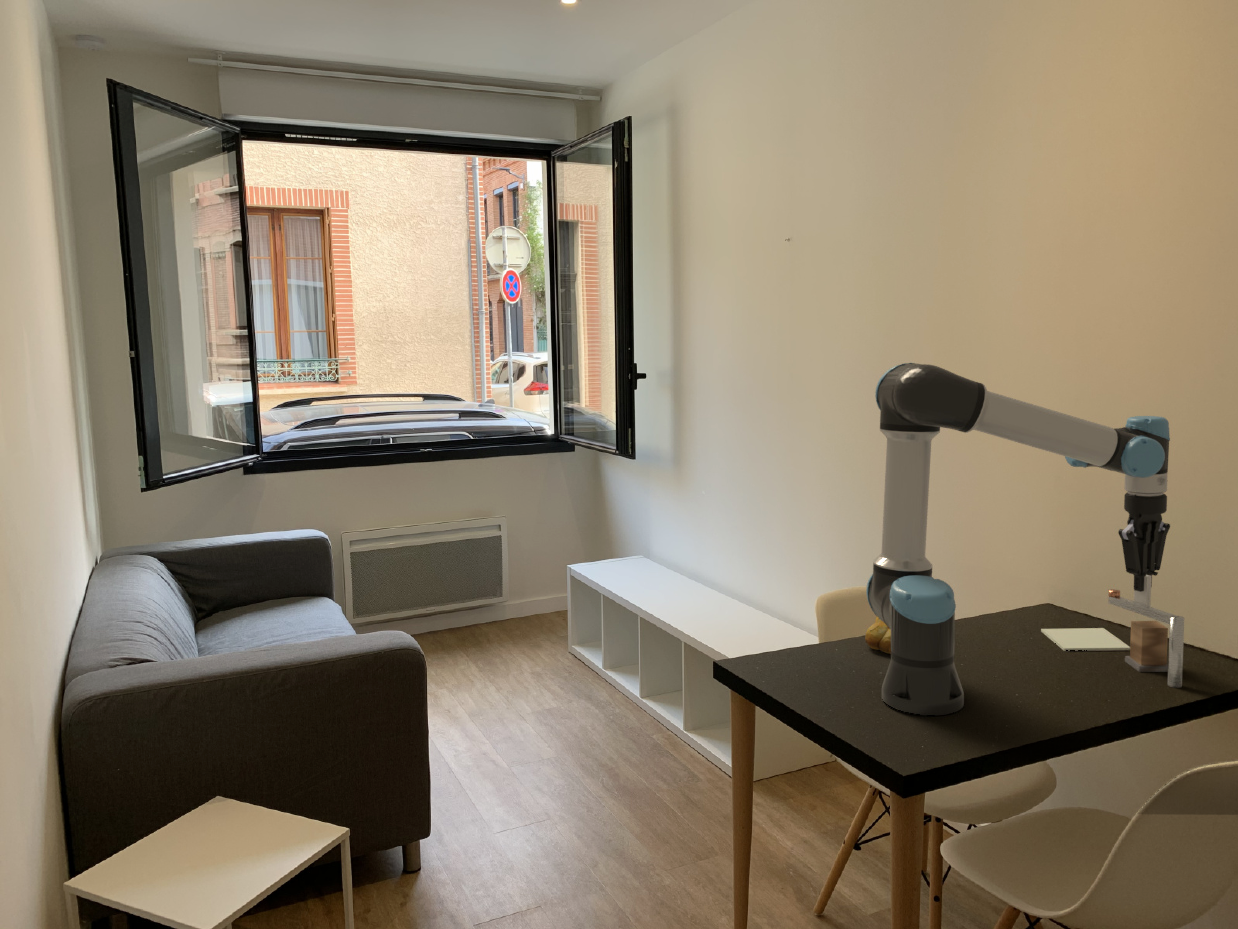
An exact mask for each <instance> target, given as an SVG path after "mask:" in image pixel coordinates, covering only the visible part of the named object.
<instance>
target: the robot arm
mask: <svg viewBox="0 0 1238 929" xmlns="http://www.w3.org/2000/svg"><path fill="white" fill-rule="evenodd" d="M874 393H875V395H874V396H875V402H876V405H877V407H878V409H879V410H880V412H879V414H880V417H879V431H880V432H881V433H882V434H883V435H884V437H885V438H886V450H885V451H886V453H885V455H886V457H885V473H884V474H885V475H884V495H883V512H882V513H883V516H882V536H881V553H880V554H879V555H878V556H877V557H876V558H875V559H873V565H872V574H871V575H870V577H869V579H868V582H867V584H866V587H865V588H866V591H865V592H866V599H867V602H868V604H869V607H870V609H871V611H872V612H873V613H874V614H875V616H877V617H878V618H879V619H880V620H882V621H883V622H884V623H885V624H886V625H887V626H888V627H889V628H890V630H891V654H890V661H889V665H888V668H887V671H886V674H885V677H884V679H883V681H882V684H881V685H882V686H881V700H882V699H883V700H882V702H883V701H884V702H886V703H887V704H888V705H890V706H892V707H893V708H897V709H899V710H901V711H904V712H903V713H905V712H910V713H914V714H913V715H916V714H920V715H919V716H927V715H935V716H944V715H950V713H951V714H953V712H954V713H956V712H958V711H960V710H962V709H963V707H964V704H965V696H964V695H965V694H964V689H963V687H962V684H961V680H960V677H959V675H958V672H957V668H956V665H955V635H956V634H955V632H956V631H955V627H956V626H955V624H956V622H955V620H956V618H955V616H956V613H955V612H956V607H957V604H956V601H955V600H956V599H955V592H954V590H953V588H952V587H951V586H950V584H948V583H947V582H946V581H944V580H942V579H940V578H934V577H933V564H932V563H931V561H929V559H928V558H927V557H926V548H927V526H928V512H929V510H928V509H929V494H930V493H929V492H930V490H929V489H930V473H931V455H932V454H931V452H932V440H933V439H934V438H935V437H936V436H937V435H939V433H941V428H943V429H950V430H953V431H958V432H961V433H965V434H966V433H970V432H971V431H977V432H980V433H983V434H988V435H991V436H994V437H998V438H1000V439H1001V438H1002V439H1004V440H1007V441H1012V442H1014V443H1018V444H1022V445H1025V446H1029V447H1032V448H1035V449H1039V450H1041V451H1045V452H1049V453H1053V454H1056V455H1059V456H1063V457H1064V458H1065V461H1066V462H1067V464H1068V465H1069V466H1071V467H1075V468H1085V469H1086V468H1089V467H1091V468H1093V467H1095V468H1100V469H1104V470H1107V471H1111V472H1117V473H1120V474H1122V475H1124V491H1126V493H1125V494H1124V503H1123V504H1124V505H1123V509H1124V511H1125V512H1127V513H1128V519H1127V522H1126V524H1127V526H1126V527H1125V528H1124V529H1123V528H1119V529H1118V532H1117V533H1118V535H1119V537H1120V539H1121V543H1122V544H1121V545H1122V552H1123V559H1124V566H1125V572H1126V573H1129V574H1131V575H1133V591H1134V592H1133V601H1134V602H1137V603H1140V604H1143V605H1146V606H1149V607H1151V601H1152V600H1151V599H1152V598H1151V597H1152V595H1151V594H1152V585H1153V583H1152V582H1153V576H1155V577H1156V576H1158V574H1159V572H1157V571H1159V570H1160V569H1161V567H1162V566H1161V565H1162V560H1163V556H1164V549H1165V545H1166V540H1167V535H1168V533H1169V530H1170V529H1171V524H1170V523H1167V522H1164V521H1163V516H1162V514H1165V513H1166V512H1167V507H1168V502H1167V501H1168V496H1167V494H1165V493H1166V492H1167V491H1168V473H1169V472H1168V471H1169V470H1168V469H1169V452H1170V441H1171V437H1170V427H1169V426H1170V424H1169V421H1168V419H1167V418H1166V417H1164V416H1155V415H1137V416H1130V417H1128V418H1127V419H1126V423H1125V426H1123V427H1117V428H1113V427H1110V426H1106V425H1103V424H1100V423H1097V422H1094V421H1090V420H1087V419H1084V418H1080V417H1077V416H1072V415H1070V414H1067V413H1063V412H1059V411H1056V410H1054V409H1053V410H1052V409H1049V408H1046V407H1042V406H1040V405H1037V404H1033V403H1029V402H1026V401H1023V400H1019V399H1016V398H1012V397H1010V396H1006V395H1002V394H999V393H995V392H994V391H993V392H991V391H988V389H987V387H986V385H985V384H984V383H982V382H978V381H975V380H973V379H969V378H966V377H963V376H961V375H958V374H957V373H955V372H951V371H949V370H947V369H945V368H942V367H940V366H938V365H934V364H925V363H924V364H921V363H915V362H904V363H900V364H898V365H897V364H896V365H895V366H893V367H891V368H889V369H888V370H887V371H885V372H884V373H883V374H882V375H881V377H880V378H879V379H878V381H877V384H876V388H875V392H874ZM884 702H883V703H884ZM888 705H887V706H888ZM893 708H892V709H893ZM901 711H900V712H901ZM910 713H909V714H910Z"/></svg>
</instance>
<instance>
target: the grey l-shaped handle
mask: <svg viewBox="0 0 1238 929" xmlns="http://www.w3.org/2000/svg"><path fill="white" fill-rule="evenodd" d="M1107 594H1108V596H1107V599H1108V602H1107V603H1108V604H1110V605H1113V606H1116V607H1119V608H1121V609H1123V610H1127V611H1129V612H1133V613H1136V614H1139V615H1141V616H1144V617H1147V618H1149V619H1153V620H1154V621H1157V622H1161V623H1164V624H1167V625H1169V629H1168V633H1169V634H1168V635H1169V637H1168V657H1167V663H1168V672H1167V686H1168V687H1171V688H1174V689H1179V688H1182V686H1183V666H1184V665H1183V664H1184V639H1185V636H1184V635H1185V617H1184V616H1183V615H1182V616H1181V615H1176V614H1173V613H1169V612H1167V611H1164V610H1161V609H1158V608H1156V607H1155V608H1154V607H1153V606H1152V607H1151V606H1150V607H1149V606H1146V605H1143V604H1140V603H1137V602H1134V600H1131V599H1128V598H1125V597H1122V596H1121V590H1119V589H1112V588H1111V589H1108V593H1107Z"/></svg>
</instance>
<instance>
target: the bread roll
mask: <svg viewBox="0 0 1238 929" xmlns="http://www.w3.org/2000/svg"><path fill="white" fill-rule="evenodd" d="M875 616H876V615H875ZM864 640H865V643H866V644H867V645H868V647H869V648H871V649H873V650H879V651H880V652H884V653H886V654H890V655H891V630H890V628H889V627H888V626H887V625H886V624H885V623H884V622H883V621H882V620H880V619H879V618H878V617H877V616H876V617H875V621H874V623H872V624H871V626H869V627H868V628H867V630H866V633H865V638H864Z"/></svg>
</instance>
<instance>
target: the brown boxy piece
mask: <svg viewBox="0 0 1238 929" xmlns="http://www.w3.org/2000/svg"><path fill="white" fill-rule="evenodd" d="M1168 633H1169V627H1167V626H1165V625H1164V624H1162V623H1160V621H1158V620H1131V621H1130V640H1129V641H1130V642H1129V645H1130V646H1129V647H1130V650H1129V655H1125V656H1124V662H1125V663H1126V664H1128V665H1129V666H1130V667H1132V668H1133V669H1134V670H1136V672H1138V673H1152V672H1153V673H1155V672H1158V673H1160V672H1163V673H1165V672H1167V673H1168V642H1169V637H1168V635H1169V634H1168Z"/></svg>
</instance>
